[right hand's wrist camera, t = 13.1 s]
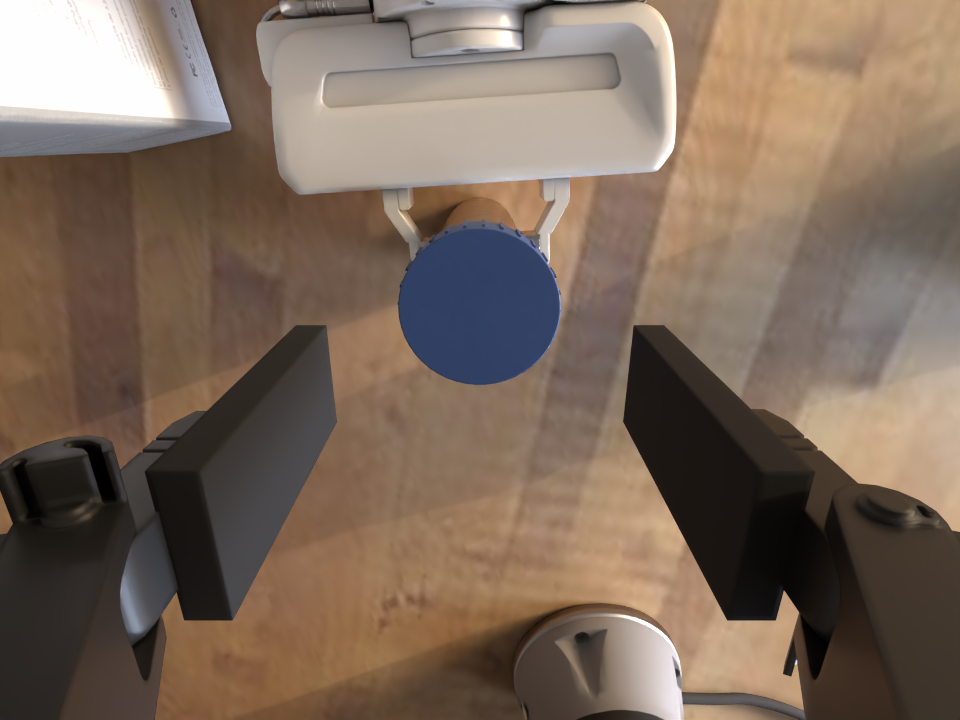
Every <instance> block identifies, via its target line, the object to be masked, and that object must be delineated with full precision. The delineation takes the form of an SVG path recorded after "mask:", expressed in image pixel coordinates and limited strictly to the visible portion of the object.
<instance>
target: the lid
mask: <svg viewBox="0 0 960 720" xmlns="http://www.w3.org/2000/svg"><path fill="white" fill-rule="evenodd" d="M415 255H416V257H415V258H414V260H413V261H412V260H411V261H410V263H409V264H408V266H407V268H406V271H407V273H406V275H405V276H404V279H403V281H402V282H401V284H400V288H401V289H400V294H399V301H398V309H399V319H400V324H401V328H402V331H403V333H404V336H405V338H406V340H407V342H408V344H409V346H410V347H411V349H412V350H413V352H414V353H415V355H416V356H417V357H418V358H419V359H420V360H421V361H422V362H423V363H424V364H425V365H426V366H428V367H429V368H430V369H432V370H433V371H435V372H436V373H438V374H440V375H442V376H444V377H445V378H448V379H451V380H453V381H456V382H461V383H465V384H474V385H486V384H494V383H498V382H502V381H506V380H508V379H511V378H514V377H516V376H518V375H519V374H521V373H523V372H525V371H526V370H527V369H529V368H530V367H532V366H533V365H534V364H535V363H536V362H537V361H538V360H539V359H540V358H541V357H542V356H543V354H544V353H545V352H546V350H547V349H548V347H549V346H550V344H551V342H552V340H553V338H554V336H555V334H556V331H557V327H558V324H559V318H560V313H561V309H560V306H561V304H560V295H561V294H560V291H559V289H558V285H557V282H556V280H555V278H557V277H556V275H555V273H554V271H553V269H552V268H551V267H549V265H548V264H547V262H548V259H547V258H546V256H545V254H544V253H543V252H542V253H541V252H540V251H539V250H538V248H537V246H536V245H535V243H534V241H533V240H532V239H531V240H529V239H528V238H526V237H525V236H524V235H522V234H521V233H520V231H519V230H518V229H516V230H514V229H512V228H509V227H507V226H504V225H503V223H502V222H500V223H499V224H497V223H493V222H485V219H482V221H474V222H467V220H466V221H464V223H461V224H458V225H455V226H452V227H450V225H449V226H447V228H446V229H445V230H443V231H442V232H440V233H438V234H437V235H434V234H433V235H432V236H431V238H430V240H429V241H428V242H427V243H426V244H425V245H424V246H423V247H422V246H420V247H419V249H418V251H417V252H416V254H415Z"/></svg>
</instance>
